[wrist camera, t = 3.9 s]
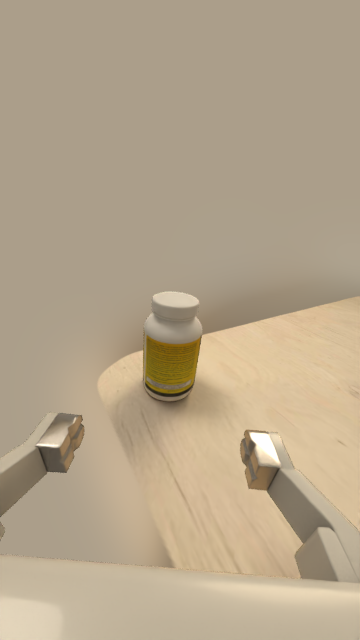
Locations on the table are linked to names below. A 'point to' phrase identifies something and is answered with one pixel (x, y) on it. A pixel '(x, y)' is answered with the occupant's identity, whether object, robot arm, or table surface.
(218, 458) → the table surface
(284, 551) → the table surface
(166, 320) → the pill bottle
